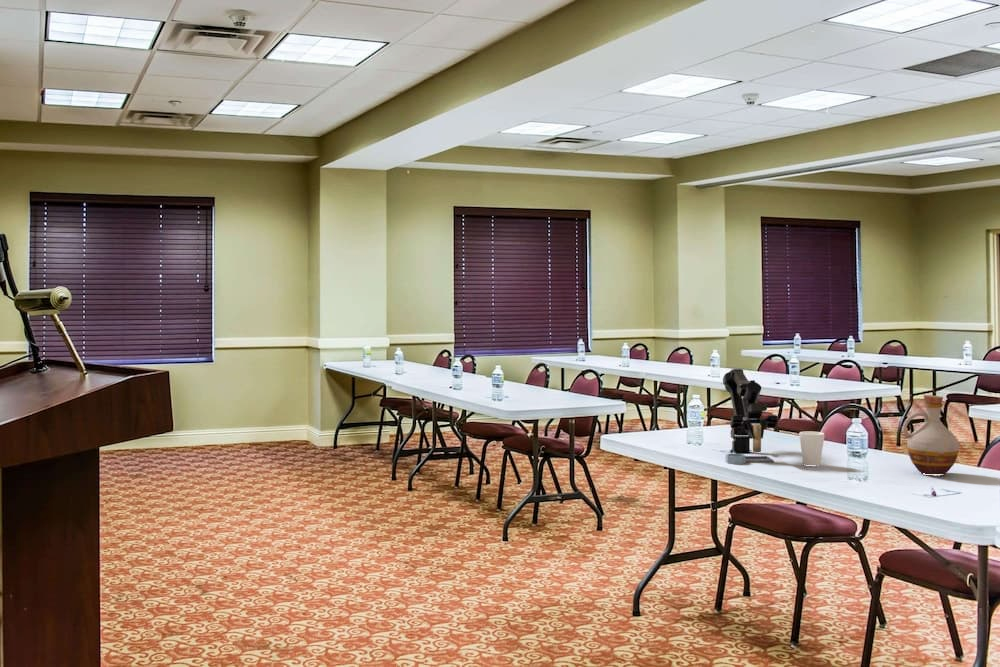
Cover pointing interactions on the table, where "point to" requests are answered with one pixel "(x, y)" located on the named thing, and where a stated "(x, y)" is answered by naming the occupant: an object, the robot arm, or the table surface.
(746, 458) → the tray
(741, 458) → the gray square block
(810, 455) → the foam cup
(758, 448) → the dowel
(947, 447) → the jug
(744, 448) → the robot arm
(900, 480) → the table surface
